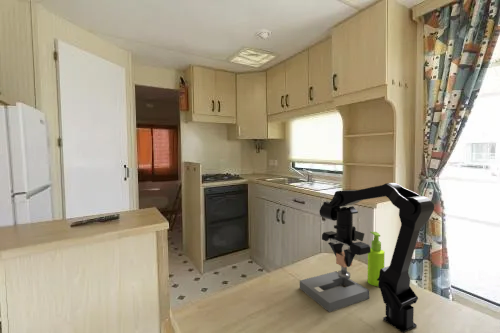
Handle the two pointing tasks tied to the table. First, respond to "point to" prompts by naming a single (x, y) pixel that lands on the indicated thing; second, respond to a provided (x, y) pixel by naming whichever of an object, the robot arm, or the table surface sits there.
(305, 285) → the keyhole plate
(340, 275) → the key peg
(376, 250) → the soap dispenser
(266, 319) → the table surface
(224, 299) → the table surface
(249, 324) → the table surface
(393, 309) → the robot arm
